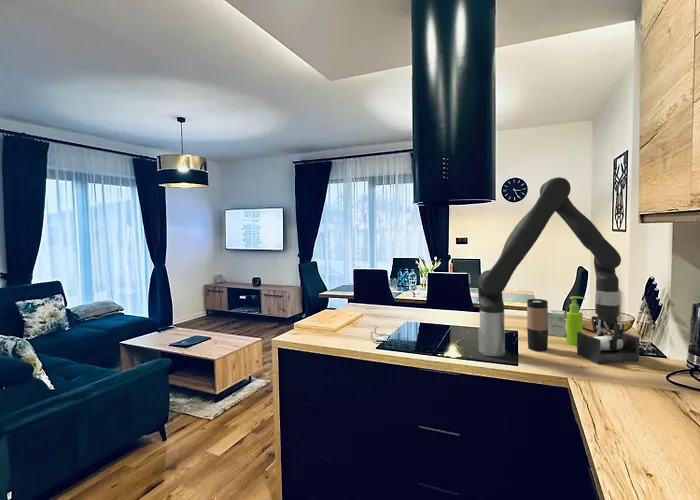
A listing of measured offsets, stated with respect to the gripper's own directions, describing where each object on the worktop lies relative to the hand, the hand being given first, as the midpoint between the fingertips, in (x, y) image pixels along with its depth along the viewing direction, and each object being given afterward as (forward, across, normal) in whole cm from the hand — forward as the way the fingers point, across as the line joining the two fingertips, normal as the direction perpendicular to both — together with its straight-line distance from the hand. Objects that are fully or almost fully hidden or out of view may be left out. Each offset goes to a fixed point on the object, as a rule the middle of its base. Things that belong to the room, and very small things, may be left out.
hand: (607, 346), depth 142 cm
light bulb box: (+4, -33, -1) cm, 33 cm away
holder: (+4, 0, 0) cm, 4 cm away
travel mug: (+4, -14, -19) cm, 24 cm away
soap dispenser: (+4, -18, 0) cm, 19 cm away
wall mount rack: (+4, -38, -78) cm, 87 cm away
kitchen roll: (-1, 0, 0) cm, 1 cm away
